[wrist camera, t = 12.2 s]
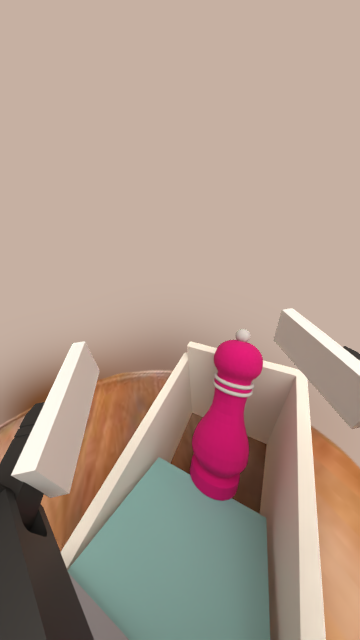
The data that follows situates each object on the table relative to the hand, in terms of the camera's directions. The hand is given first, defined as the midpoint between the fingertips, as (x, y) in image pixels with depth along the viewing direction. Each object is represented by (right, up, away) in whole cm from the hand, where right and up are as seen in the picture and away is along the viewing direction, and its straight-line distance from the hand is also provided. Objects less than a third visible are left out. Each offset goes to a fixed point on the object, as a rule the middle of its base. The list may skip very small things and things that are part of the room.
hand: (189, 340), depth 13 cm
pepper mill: (+4, -20, +12) cm, 23 cm away
